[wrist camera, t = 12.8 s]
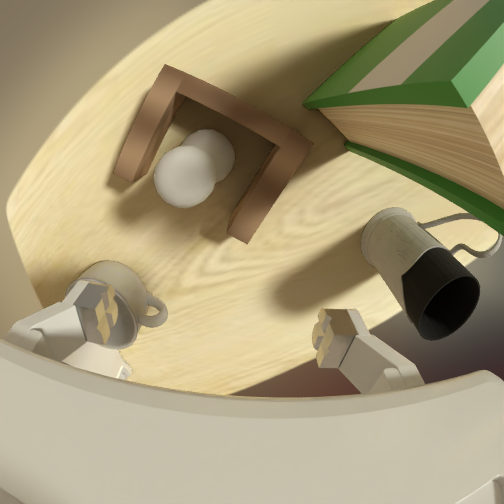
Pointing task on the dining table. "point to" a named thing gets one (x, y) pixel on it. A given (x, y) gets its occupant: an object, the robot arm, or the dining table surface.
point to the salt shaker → (193, 168)
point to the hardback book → (430, 102)
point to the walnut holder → (185, 85)
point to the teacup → (125, 301)
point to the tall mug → (423, 270)
